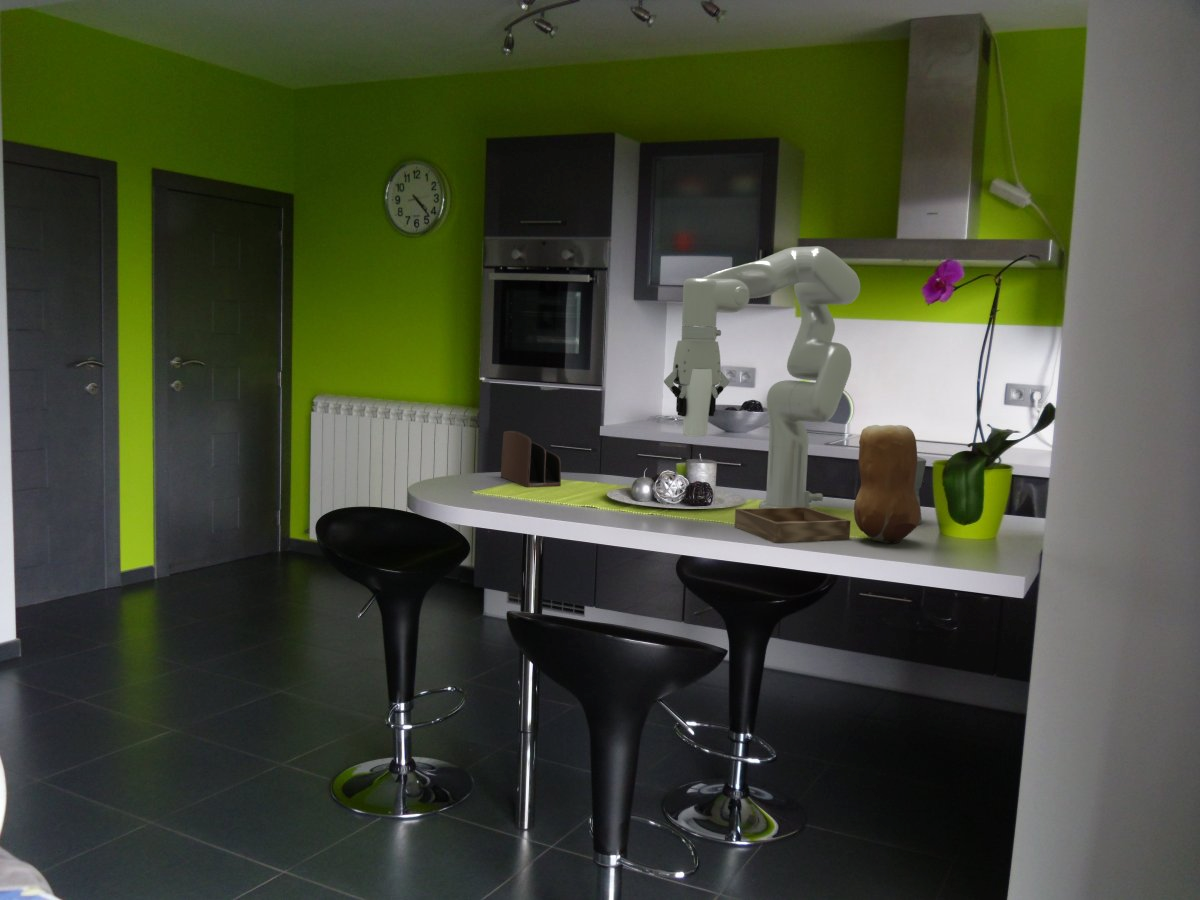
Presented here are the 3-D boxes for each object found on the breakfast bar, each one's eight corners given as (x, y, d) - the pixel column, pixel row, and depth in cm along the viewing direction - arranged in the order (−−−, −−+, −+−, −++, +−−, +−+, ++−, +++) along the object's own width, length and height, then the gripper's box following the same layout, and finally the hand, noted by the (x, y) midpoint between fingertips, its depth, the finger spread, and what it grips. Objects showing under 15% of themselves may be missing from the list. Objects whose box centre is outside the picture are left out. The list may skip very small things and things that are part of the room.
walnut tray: (804, 523, 248) (805, 506, 247) (849, 539, 231) (850, 520, 231) (734, 526, 241) (735, 509, 241) (775, 542, 225) (776, 523, 224)
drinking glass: (708, 437, 239) (711, 369, 237) (677, 436, 240) (680, 368, 238) (711, 434, 245) (714, 368, 243) (682, 433, 247) (684, 367, 245)
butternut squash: (872, 533, 239) (879, 420, 236) (929, 543, 230) (937, 425, 227) (839, 540, 229) (846, 422, 226) (896, 551, 220) (904, 428, 217)
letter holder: (527, 488, 289) (528, 435, 287) (500, 477, 307) (501, 428, 305) (561, 486, 293) (562, 435, 292) (532, 476, 311) (534, 427, 309)
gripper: (726, 335, 246) (722, 414, 249) (656, 333, 240) (653, 414, 243) (741, 335, 239) (738, 417, 242) (669, 334, 233) (667, 417, 236)
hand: (695, 414), depth 242 cm, fingers closed on drinking glass, 6 cm apart
